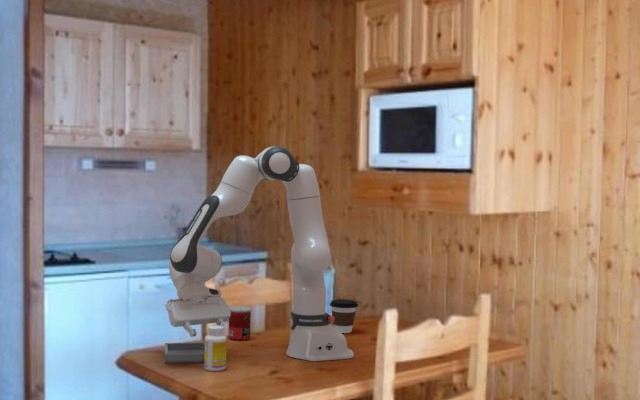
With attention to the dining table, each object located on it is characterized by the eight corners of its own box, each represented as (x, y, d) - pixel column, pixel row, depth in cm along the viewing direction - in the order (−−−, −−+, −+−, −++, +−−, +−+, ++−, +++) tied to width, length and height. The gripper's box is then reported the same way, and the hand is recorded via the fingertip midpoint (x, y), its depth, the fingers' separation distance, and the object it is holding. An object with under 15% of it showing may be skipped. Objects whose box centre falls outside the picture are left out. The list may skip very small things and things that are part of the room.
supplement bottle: (230, 368, 229) (231, 326, 229) (217, 372, 223) (218, 330, 223) (212, 365, 232) (213, 324, 232) (199, 369, 226) (200, 327, 226)
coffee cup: (362, 332, 288) (363, 301, 287) (344, 336, 280) (346, 305, 279) (341, 328, 295) (342, 298, 295) (323, 332, 287) (324, 301, 286)
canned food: (246, 341, 266) (247, 311, 266) (225, 340, 267) (226, 309, 267) (252, 337, 273) (253, 307, 273) (231, 335, 275) (232, 306, 275)
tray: (217, 351, 251) (218, 342, 251) (222, 362, 235) (222, 353, 235) (164, 352, 247) (164, 343, 247) (165, 364, 232) (165, 354, 232)
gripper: (167, 294, 231) (180, 331, 223) (224, 290, 243) (239, 325, 236) (160, 306, 235) (173, 343, 227) (217, 301, 247) (231, 336, 239)
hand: (207, 334), depth 232 cm, fingers open, 8 cm apart
